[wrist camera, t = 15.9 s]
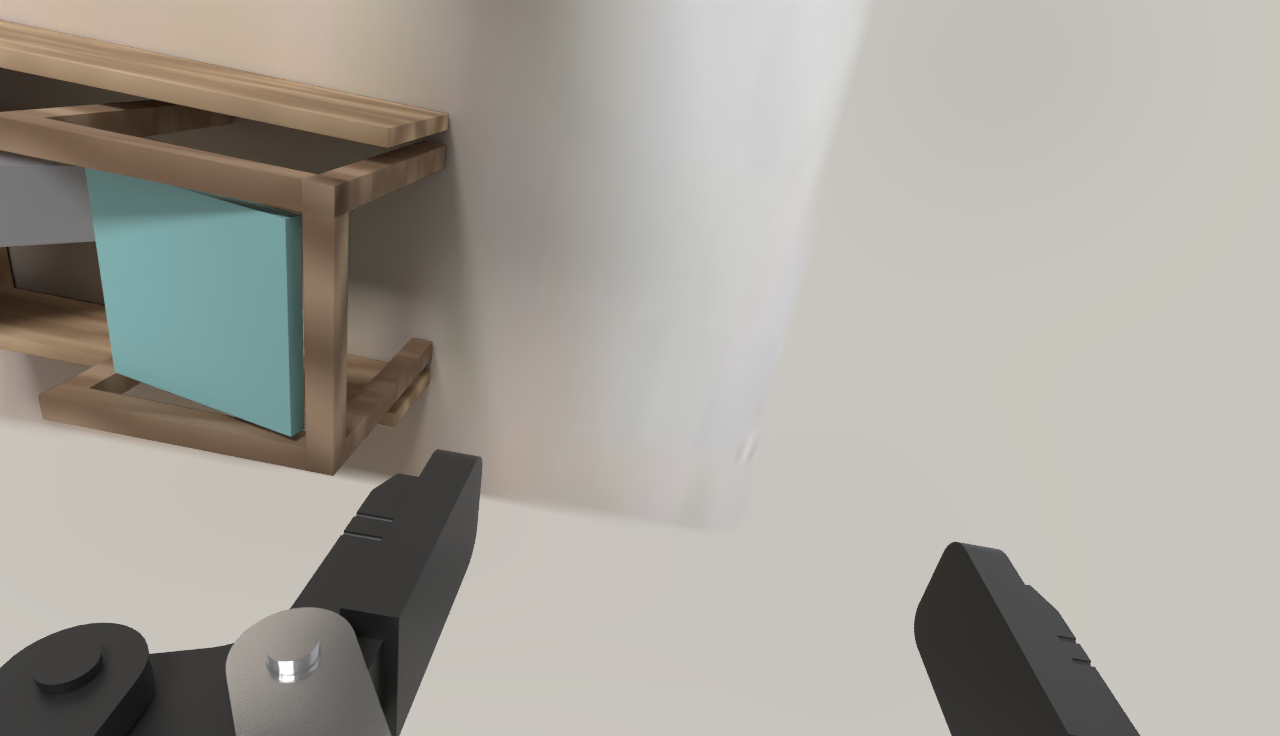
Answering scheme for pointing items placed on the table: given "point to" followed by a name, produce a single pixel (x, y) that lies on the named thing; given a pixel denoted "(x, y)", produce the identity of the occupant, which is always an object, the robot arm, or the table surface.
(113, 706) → the robot arm
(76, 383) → the trapdoor frame
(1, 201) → the granite stone
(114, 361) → the trapdoor
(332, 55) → the table surface
